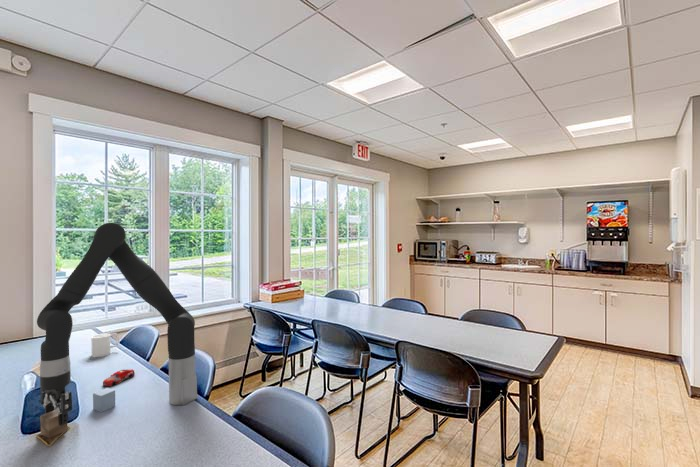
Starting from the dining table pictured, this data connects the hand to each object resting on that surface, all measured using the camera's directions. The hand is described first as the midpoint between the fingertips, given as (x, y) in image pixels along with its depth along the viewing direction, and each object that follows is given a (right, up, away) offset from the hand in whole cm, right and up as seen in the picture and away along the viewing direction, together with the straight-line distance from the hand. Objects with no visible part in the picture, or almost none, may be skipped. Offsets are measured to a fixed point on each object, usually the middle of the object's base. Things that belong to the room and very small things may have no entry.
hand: (56, 421), depth 112 cm
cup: (-37, -4, +75) cm, 84 cm away
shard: (0, -5, 0) cm, 5 cm away
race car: (-7, -5, +41) cm, 42 cm away
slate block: (+3, -4, +17) cm, 18 cm away
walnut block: (0, -3, 0) cm, 3 cm away
